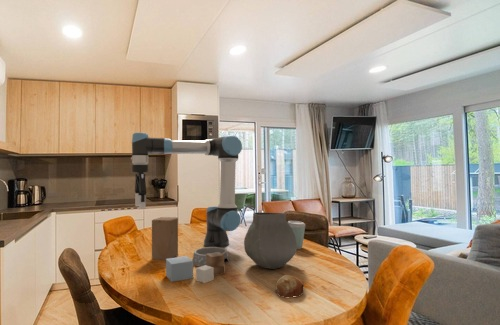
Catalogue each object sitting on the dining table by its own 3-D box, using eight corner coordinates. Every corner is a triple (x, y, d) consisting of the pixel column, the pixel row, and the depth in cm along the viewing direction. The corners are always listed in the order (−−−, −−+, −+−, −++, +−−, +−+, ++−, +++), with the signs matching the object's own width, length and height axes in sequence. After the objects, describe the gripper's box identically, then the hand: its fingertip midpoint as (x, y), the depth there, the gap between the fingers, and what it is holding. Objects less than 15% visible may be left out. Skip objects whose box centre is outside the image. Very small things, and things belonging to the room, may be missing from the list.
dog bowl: (235, 259, 157) (235, 248, 157) (213, 269, 141) (213, 257, 141) (208, 254, 166) (208, 244, 166) (184, 263, 150) (184, 252, 150)
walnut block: (218, 269, 139) (218, 252, 140) (224, 273, 134) (224, 255, 134) (206, 272, 136) (206, 253, 137) (211, 276, 131) (211, 257, 131)
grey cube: (205, 277, 130) (205, 265, 130) (213, 279, 127) (213, 267, 127) (196, 280, 126) (196, 268, 127) (204, 283, 123) (204, 270, 123)
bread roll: (278, 297, 117) (269, 278, 117) (302, 284, 118) (293, 266, 118) (283, 309, 107) (273, 288, 107) (309, 295, 108) (299, 274, 108)
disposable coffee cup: (305, 245, 182) (304, 220, 183) (306, 250, 172) (306, 223, 172) (286, 245, 183) (286, 220, 184) (287, 250, 173) (287, 223, 173)
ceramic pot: (301, 261, 152) (300, 209, 152) (291, 277, 129) (290, 216, 130) (253, 257, 160) (253, 208, 160) (236, 271, 137) (236, 214, 137)
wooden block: (169, 260, 155) (169, 220, 155) (151, 259, 157) (151, 219, 157) (178, 255, 164) (178, 217, 165) (160, 254, 166) (160, 216, 167)
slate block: (186, 271, 137) (186, 255, 137) (193, 278, 129) (193, 261, 129) (166, 275, 132) (166, 258, 133) (171, 281, 125) (171, 264, 125)
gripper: (129, 164, 162) (129, 205, 162) (135, 163, 140) (135, 210, 139) (144, 164, 166) (144, 204, 165) (152, 163, 144) (152, 209, 143)
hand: (140, 207), depth 152 cm, fingers open, 13 cm apart
